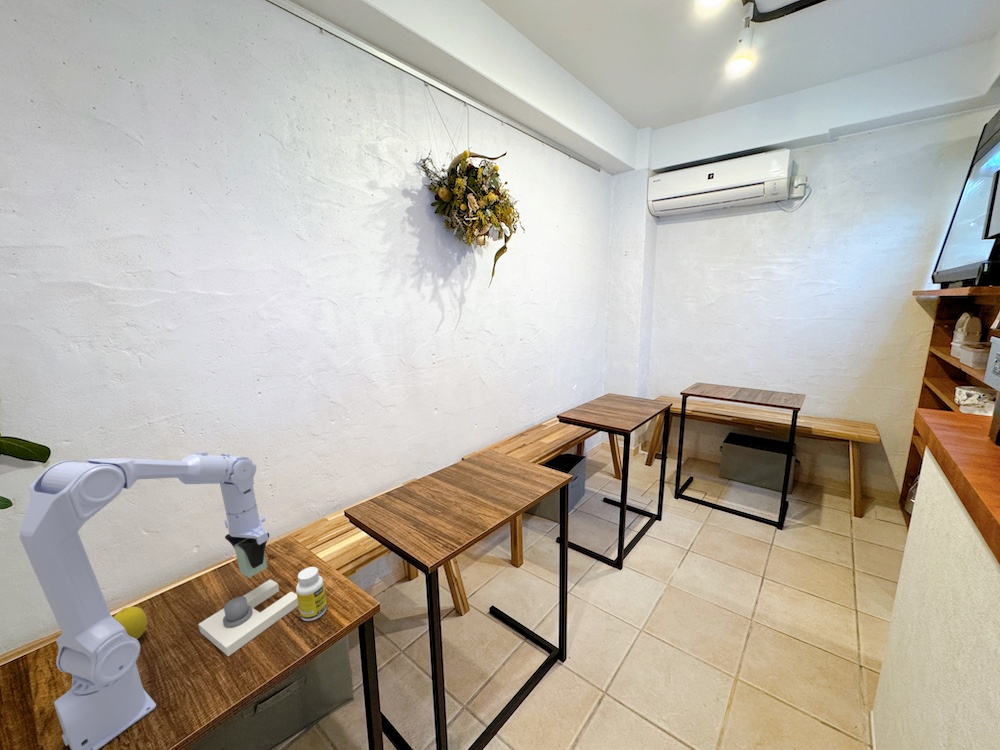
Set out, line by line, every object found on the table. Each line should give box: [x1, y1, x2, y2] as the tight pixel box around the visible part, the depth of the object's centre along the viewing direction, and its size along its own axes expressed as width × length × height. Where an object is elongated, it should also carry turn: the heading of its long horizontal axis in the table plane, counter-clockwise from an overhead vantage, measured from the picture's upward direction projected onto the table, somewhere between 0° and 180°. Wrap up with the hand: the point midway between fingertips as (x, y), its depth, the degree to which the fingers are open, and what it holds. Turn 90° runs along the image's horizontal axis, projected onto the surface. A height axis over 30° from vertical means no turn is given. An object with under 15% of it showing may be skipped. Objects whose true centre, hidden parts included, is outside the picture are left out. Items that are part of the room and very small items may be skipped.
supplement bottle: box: [295, 566, 328, 622], centre depth 85 cm, size 5×5×10 cm
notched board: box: [197, 578, 299, 657], centre depth 85 cm, size 15×12×6 cm
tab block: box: [234, 538, 268, 579], centre depth 89 cm, size 4×4×7 cm
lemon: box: [112, 606, 148, 640], centre depth 80 cm, size 6×6×8 cm
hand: (252, 562), depth 89 cm, fingers closed on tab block, 4 cm apart
